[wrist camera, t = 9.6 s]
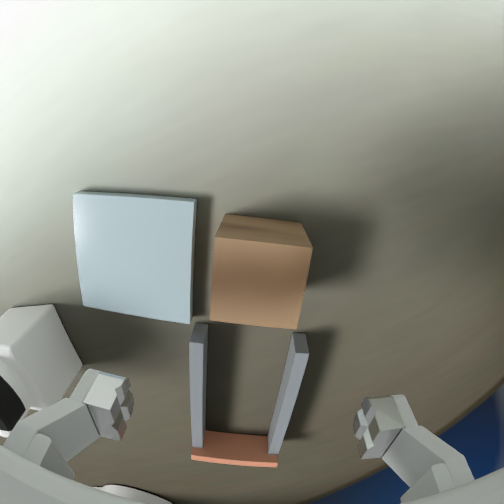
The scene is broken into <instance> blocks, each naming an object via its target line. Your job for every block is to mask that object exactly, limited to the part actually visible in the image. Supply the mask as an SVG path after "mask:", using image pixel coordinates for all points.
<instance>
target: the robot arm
mask: <svg viewBox="0 0 504 504" xmlns="http://www.w3.org/2000/svg"><path fill="white" fill-rule="evenodd" d="M129 388H130V382H129V379H128V378H125V377H121V376H117V375H113V374H109V373H105V372H101V371H98V370H94V369H90V368H89V369H88V370H86V372H85V373H84V375H83V376H82V378H81V380H80V381H79V383H78V385H77V386H76V388H75V390H74V391H73V393H72V395H71V396H70V398H64V399H62V400H60V401H58V402H56V403H54V404H52V405H50V406H48V407H46V408H44V409H42V410H40V411H38V412H36V413H34V414H32V415H30V416H28V417H26V418H24V419H22V420H20V421H18V422H17V424H16V425H15V427H14V428H13V430H12V432H11V433H10V435H9V437H8V438H7V440H6V441H5V443H4V445H3V446H1V445H0V504H172V503H170V502H169V501H167V500H164V499H162V498H160V497H157V496H155V495H152V494H149V493H146V492H143V491H140V490H137V489H133V488H129V487H124V486H119V485H106V486H104V487H93V488H92V487H90V486H87V485H84V484H81V483H79V482H76V481H73V478H74V476H75V475H74V473H73V471H72V470H71V468H70V467H69V465H68V464H67V463H66V462H67V461H68V460H70V459H71V458H72V457H74V456H75V455H76V454H78V453H79V452H80V451H82V450H83V449H84V448H86V447H87V446H88V445H90V444H91V443H92V442H94V441H95V440H96V439H97V438H99V437H100V436H103V437H107V438H111V439H115V440H119V441H122V438H123V435H124V433H125V430H126V428H127V427H126V424H125V421H126V420H128V419H129V418H130V417H131V414H132V411H133V405H134V401H133V394H132V393H131V392H130V391H129ZM361 406H362V409H361V410H359V411H358V412H357V413H356V415H355V417H354V423H353V429H354V434H355V436H356V437H357V438H358V439H359V440H360V441H359V443H358V445H357V446H358V450H359V454H360V458H361V459H368V458H378V457H382V459H383V460H384V461H385V462H386V463H387V464H388V465H389V466H390V467H391V468H392V469H393V470H394V472H396V473H397V474H398V476H399V477H401V479H402V480H403V481H404V482H405V483H406V484H407V485H408V486H409V487H410V489H409V490H408V491H407V492H406V493H404V494H403V495H402V497H401V504H504V467H503V468H501V469H499V470H497V471H495V472H492V473H490V474H488V475H486V476H483V477H481V478H479V479H476V480H474V478H473V475H472V473H471V471H470V469H469V466H468V464H467V462H466V459H465V457H464V456H463V455H462V454H461V453H459V452H458V451H457V450H455V449H454V448H452V447H451V446H449V445H448V444H446V443H445V442H444V441H442V440H441V439H440V438H438V437H437V436H435V435H434V434H433V433H431V432H430V431H428V430H427V429H426V428H424V427H423V426H418V424H417V422H416V419H415V417H414V415H413V413H412V410H411V408H410V406H409V404H408V402H407V400H406V397H405V396H404V395H392V396H377V397H366V398H364V399H363V401H362V403H361Z"/></svg>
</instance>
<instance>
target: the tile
mask: <svg viewBox="0 0 504 504" xmlns="http://www.w3.org/2000/svg"><path fill="white" fill-rule="evenodd" d="M196 209H197V199H192V198H181V197H168V196H155V195H141V194H125V193H108V192H88V191H79V192H76V193H73V216H74V232H75V244H76V255H77V264H78V272H79V280H80V287H81V294H82V300H83V306H87V307H92V308H97V309H102V310H107V311H113V312H118V313H123V314H129V315H135V316H141V317H147V318H153V319H159V320H165V321H172V322H179V323H186V324H190V322H191V319H192V311H193V272H194V246H195V226H196Z"/></svg>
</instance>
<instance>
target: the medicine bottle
mask: <svg viewBox="0 0 504 504" xmlns="http://www.w3.org/2000/svg"><path fill="white" fill-rule="evenodd" d="M81 367H82V362H81V360H80V359H79V357H78V355H77V353H76V351H75V349H74V347H73V345H72V343H71V341H70V339H69V337H68V335H67V333H66V331H65V329H64V327H63V325H62V323H61V320H60V318H59V316H58V314H57V312H56V309H55V307H54V306H53V305H52V304H49V305H38V306H28V307H17V308H10V309H8V310H7V311H6V312H5V313H4V314H3V315H2V316H1V317H0V436H3V437H9V435H10V433H11V432H12V430H13V428H14V427H15V425H16V424H17V422H18V421H20V420H22V419H24V417H25V416H26V414H27V413H28V411H29V409H34V410H39V411H40V410H42V409H44V408H46V407H48V406H50V405H52V404H54V403H56V402H58V401H60V400H61V399H62V397H63V395H64V394H65V392H66V391H67V389H68V387H69V386H70V384H71V383H72V381H73V380H74V378H75V377H76V375H77V373H78V372H79V370H80V369H81Z"/></svg>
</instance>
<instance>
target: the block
mask: <svg viewBox="0 0 504 504" xmlns="http://www.w3.org/2000/svg"><path fill="white" fill-rule="evenodd" d="M312 251H313V247H312V245H311V243H310V241H309V238H308V236H307V234H306V232H305V230H304V228H303V226H302V224H301V223H300V222H292V221H283V220H275V219H267V218H258V217H249V216H240V215H231V214H225V216H224V218H223V220H222V222H221V225H220V227H219V229H218V231H217V234H216V236H215V243H214V257H213V272H212V288H211V305H210V320H212V321H220V322H228V323H237V324H246V325H255V326H265V327H276V328H287V329H297V324H298V320H299V315H300V310H301V306H302V301H303V296H304V291H305V287H306V282H307V277H308V272H309V266H310V261H311V256H312Z"/></svg>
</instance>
